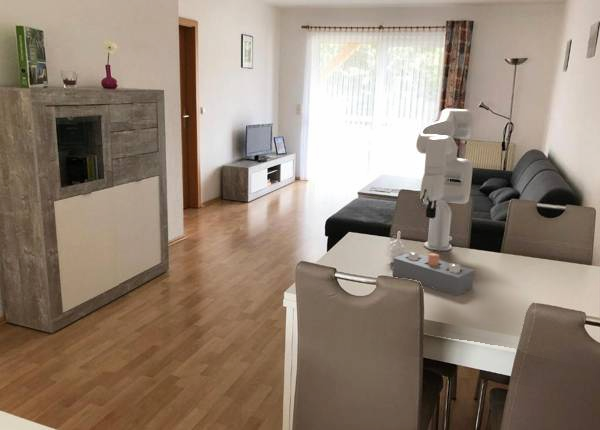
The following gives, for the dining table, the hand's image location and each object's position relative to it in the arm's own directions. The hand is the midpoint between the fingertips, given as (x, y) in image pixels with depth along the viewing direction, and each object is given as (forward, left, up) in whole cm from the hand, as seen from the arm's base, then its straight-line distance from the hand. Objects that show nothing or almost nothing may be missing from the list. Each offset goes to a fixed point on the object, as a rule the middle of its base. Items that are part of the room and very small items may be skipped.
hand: (430, 217), depth 194 cm
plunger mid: (+2, +4, -22) cm, 22 cm away
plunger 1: (+2, -5, -23) cm, 24 cm away
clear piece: (+2, +13, -23) cm, 27 cm away
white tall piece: (-5, -18, -25) cm, 30 cm away
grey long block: (+2, +4, -24) cm, 25 cm away
